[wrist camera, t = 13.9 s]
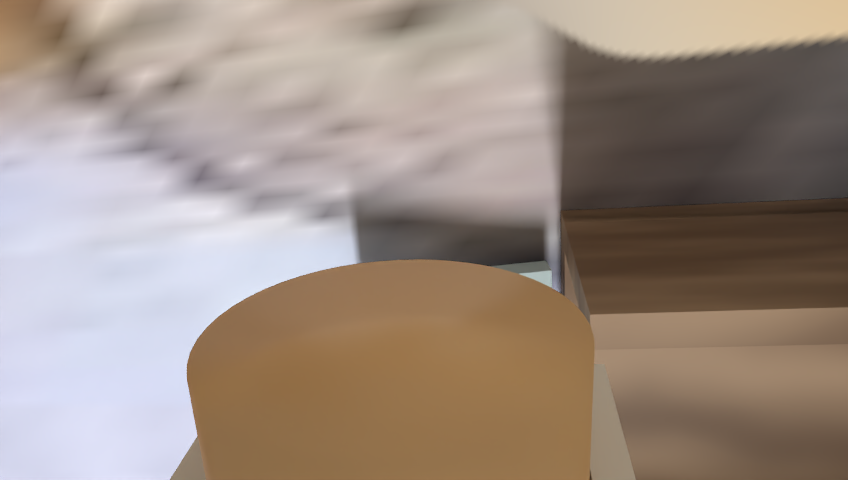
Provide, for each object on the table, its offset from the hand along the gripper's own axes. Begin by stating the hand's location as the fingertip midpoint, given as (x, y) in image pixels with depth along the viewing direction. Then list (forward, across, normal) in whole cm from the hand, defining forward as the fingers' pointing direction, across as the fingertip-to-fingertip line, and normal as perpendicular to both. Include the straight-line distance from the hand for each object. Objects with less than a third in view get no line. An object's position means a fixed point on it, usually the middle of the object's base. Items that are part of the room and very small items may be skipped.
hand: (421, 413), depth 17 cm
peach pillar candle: (0, 0, 0) cm, 0 cm away
